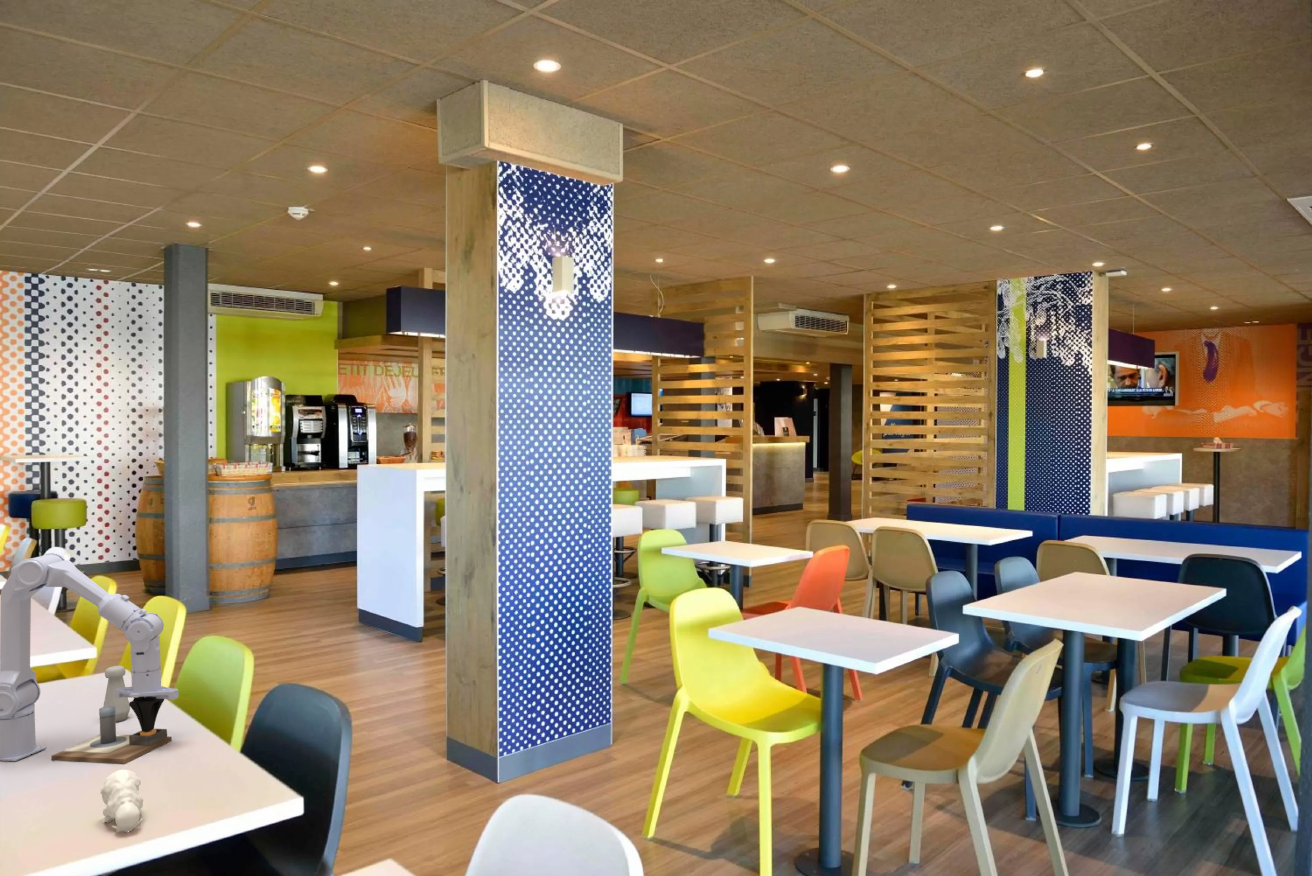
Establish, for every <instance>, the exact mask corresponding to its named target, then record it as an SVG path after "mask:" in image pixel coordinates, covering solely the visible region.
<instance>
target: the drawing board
mask: <svg viewBox="0 0 1312 876" xmlns="http://www.w3.org/2000/svg"><path fill="white" fill-rule="evenodd" d="M155 729H156V733H155V734H153V735H150V736H140V732H141V731H142V730H140V731H137V732H135V733H133V734H123V733H120V734H119V733H116V741H115V742H113V743H109V744H101V743H100V734H98V735H95V736H93V737H91V738H89V739H87V740H85V741H82V742H80V743H77V744H75V745H72V746H70V747H68V748H66V749H63V750H61V751H58V752H57V753H54V754H51V755H50V759H51V761H59V762H79V763H81V762H82V763H97V764H98V763H99V764H100V763H101V764H118V765H119V764H121V765H125V764H128V763H129V762H131V761H133V760H136V759H138V758H140V757H141V756H143V755H146V754H148V753H150V752H153V751H154V750H156V749H158V748H160V747H163V746H165V745H166V744H168V743H171V742H172V740H173V739H172V736H169V735H168V729H167V728H155ZM164 744H165V745H164Z"/></svg>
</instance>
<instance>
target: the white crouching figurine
mask: <svg viewBox="0 0 1312 876" xmlns="http://www.w3.org/2000/svg"><path fill="white" fill-rule="evenodd" d="M140 785H141V779H140V778H139V777H138V776H137V774H136V773H135V772H134V771H133V770H129V769H119V770H116V771H114V772H113V773H111V774H109V775H107V777H105V780H104V782H103V785H102V786H101V788H100V794H101V798H102V802H103V803H104V804H105V805H106V807H105V808H103V810H102V816H103V817H104V818H103V823H104V824H106V823H105V822H109V821H110V822H112V821H113V820H114V819H115V824H116V825H111V827H112V828H114V829H116V831H115V832H116V833H118V832H124V833H125V832H126V833H127V832H128V831H131V832H132V830H134V829H135V828H138V827H139V826H140V825H139V824H140V823H141V822H142V821H143V819H144V817H142V818H141V815H142V810H141V809H142V808H143V806H144V805H143V803H144V799H143V798H142V795H141V794H140V792H139V790H140ZM140 818H141V819H140ZM111 820H112V821H111ZM110 822H109V823H110Z"/></svg>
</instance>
